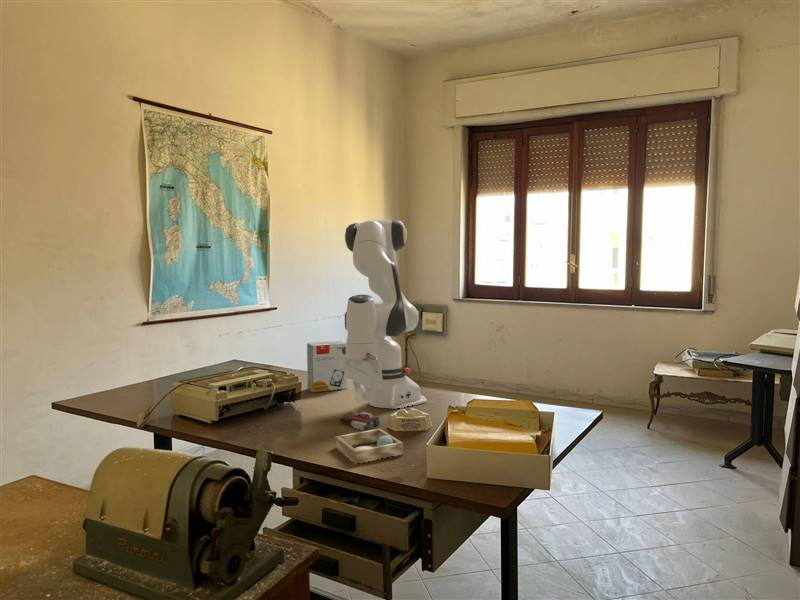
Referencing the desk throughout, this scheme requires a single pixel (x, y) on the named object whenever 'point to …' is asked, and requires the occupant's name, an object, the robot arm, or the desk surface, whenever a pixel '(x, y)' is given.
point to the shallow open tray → (369, 454)
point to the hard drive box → (325, 366)
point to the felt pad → (362, 447)
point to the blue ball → (384, 440)
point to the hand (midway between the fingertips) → (362, 397)
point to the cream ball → (360, 396)
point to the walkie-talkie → (361, 420)
